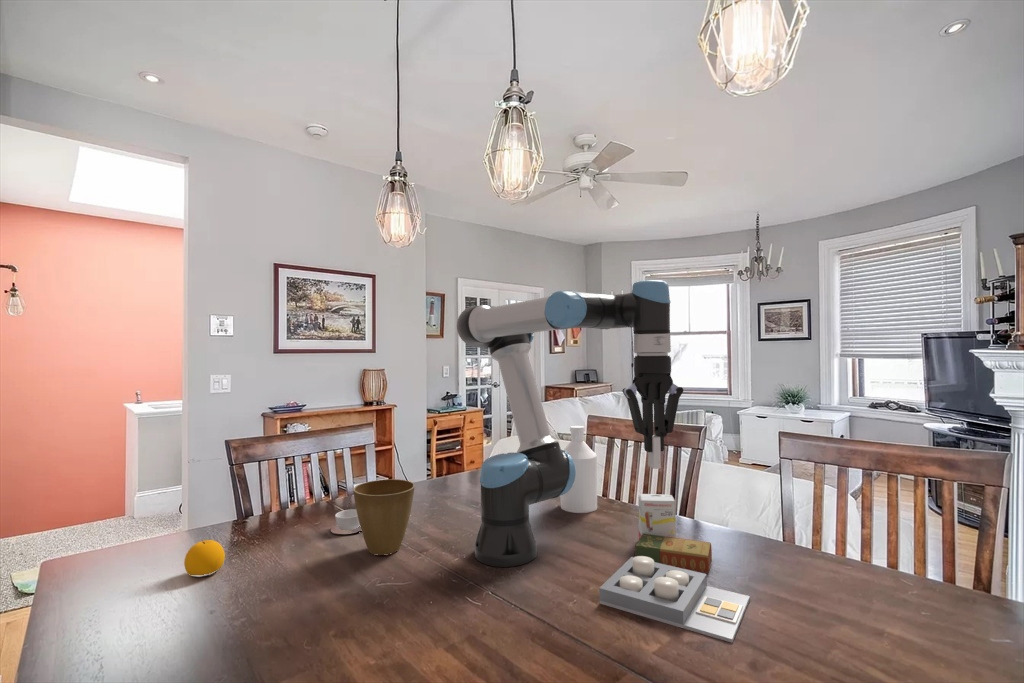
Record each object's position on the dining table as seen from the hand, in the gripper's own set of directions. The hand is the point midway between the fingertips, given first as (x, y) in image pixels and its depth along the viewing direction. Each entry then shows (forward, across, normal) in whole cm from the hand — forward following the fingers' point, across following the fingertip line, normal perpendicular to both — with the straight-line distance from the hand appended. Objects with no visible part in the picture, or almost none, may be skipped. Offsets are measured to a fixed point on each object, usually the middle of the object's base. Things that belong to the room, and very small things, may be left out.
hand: (654, 467), depth 105 cm
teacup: (+25, -68, +49) cm, 88 cm away
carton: (+25, +9, +10) cm, 29 cm away
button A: (+23, -8, -4) cm, 25 cm away
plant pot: (+25, -57, +32) cm, 70 cm away
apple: (+25, -97, +27) cm, 104 cm away
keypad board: (+24, 0, -7) cm, 25 cm away
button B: (+22, -3, +1) cm, 22 cm away
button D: (+23, +2, -4) cm, 24 cm away
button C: (+22, -3, -9) cm, 24 cm away
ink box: (+25, +10, +20) cm, 33 cm away
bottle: (+25, 0, +52) cm, 58 cm away
